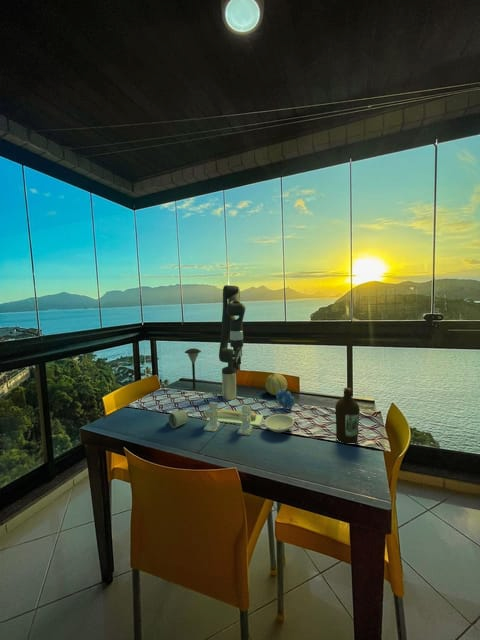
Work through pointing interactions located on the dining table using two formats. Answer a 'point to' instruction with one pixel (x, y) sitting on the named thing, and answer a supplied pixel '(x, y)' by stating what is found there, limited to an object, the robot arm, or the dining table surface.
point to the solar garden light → (193, 361)
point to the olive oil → (347, 418)
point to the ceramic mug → (178, 418)
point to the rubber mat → (237, 421)
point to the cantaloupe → (275, 383)
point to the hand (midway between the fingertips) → (237, 366)
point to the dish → (279, 422)
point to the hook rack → (214, 423)
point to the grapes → (285, 399)
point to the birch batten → (233, 414)
